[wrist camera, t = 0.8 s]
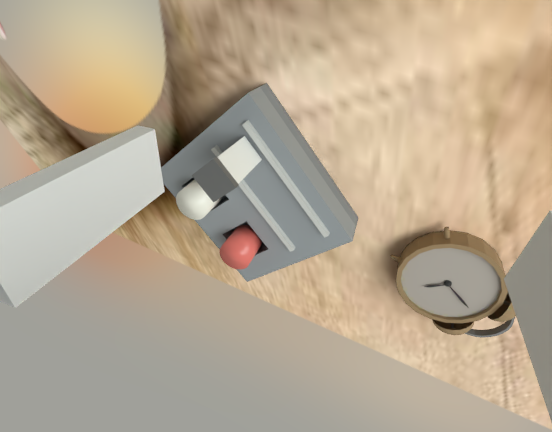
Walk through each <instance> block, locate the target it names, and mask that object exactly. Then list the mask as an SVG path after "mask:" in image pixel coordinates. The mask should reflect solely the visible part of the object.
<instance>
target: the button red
mask: <svg viewBox="0 0 552 432" xmlns="http://www.w3.org/2000/svg"><path fill="white" fill-rule="evenodd" d="M261 245H262V240H261V239H260V238H259V236H258V235H257V234H256V233H255V231H254V230H253V229H252V228H251V226H249V225H240V226H238V227H237V228H236V229H235V230H234V231H233V232H232V234H231V235H230V236H229V237H228V239H227V240H226V241H225V243H224V244H223V245H222V246H221V248H220V256H221V258H222V260H223V261H224V262H225V263H226V264H227V265H228V266H230V267H232V268H234V269H245V268H247V267H248V265H249V264H250V262H251V261H252V259H253V258H254V256H255V254H256V253H257V251H258V250H259V248H260V246H261Z"/></svg>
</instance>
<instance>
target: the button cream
mask: <svg viewBox="0 0 552 432" xmlns="http://www.w3.org/2000/svg"><path fill="white" fill-rule="evenodd" d="M221 199H222V197H221V198H220V199H218V200H217V201H215V202H213V201H212V200H211V199H210V198H209V196H208V195H207V194H206V193H205V191H204V190H203V189H202V188H201V187H200V185H199V184H198V183H197V182H196V180H195V179H194V180H193V181H192V182H191V183H189V184H188V185H187V186H186V187H184V188H183V189H182V190H181V191H179V192H178V194H177V196H176V203H177V206H178V208H179V209H180V211H181V212H182V213H183V214H184V215H185V216H187V217H188V218H190V219H194V220H200V219H202V218H204V217H205V216H206V215H207V214H208V213H209V212H210V211H211V210H212V209H213V208H214V207H215V206H216V205H217V204H218V203H219V202H220V200H221Z"/></svg>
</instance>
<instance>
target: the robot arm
mask: <svg viewBox="0 0 552 432" xmlns="http://www.w3.org/2000/svg"><path fill="white" fill-rule="evenodd" d="M163 192H165V191H164V184H163V178H162V172H161V165H160V159H159V153H158V146H157V140H156V133H155V129H152V128H148V127H143V126H136V127H133V128H131V129H129V130H127V131H125V132H123V133H120V134H118V135H116V136H114V137H112V138H110V139H107V140H105V141H103V142H101V143H99V144H97V145H94V146H92V147H90V148H88V149H86V150H84V151H81V152H79V153H77V154H75V155H73V156H71V157H68V158H66V159H64V160H62V161H60V162H58V163H55V164H53V165H51V166H49V167H47V168H45V169H42V170H40V171H38V172H36V173H34V174H32V175H30V176H27V177H25V178H23V179H21V180H19V181H16V182H14V183H12V184H10V185H8V186H6V187H4V188H1V189H0V302H2V303H5V304H7V305H10V306H12V307H15V308H16V307H17V306H18V305H19V304H21V303H22V302H24V301H25V300H26V299H27V298H28V297H30V296H31V295H33V294H34V293H35V292H36V291H38V290H39V289H40V288H41V287H42V286H44V285H45V284H47V283H48V282H49V281H50V280H52V279H53V278H54V277H56V276H57V275H58V274H59V273H61V272H62V271H63V270H64V269H66V268H67V267H68V266H70V265H71V264H72V263H74V262H75V261H76V260H77V259H79V258H80V257H81V256H82V255H84V254H85V253H86V252H88V251H89V250H90V249H91V248H93V247H94V246H95V245H97V244H98V243H99V242H100V241H101V240H103V239H104V238H105V237H107V236H108V235H109V234H111V233H112V232H113V231H115V230H116V229H117V228H118V227H120V226H121V225H122V224H124V223H125V222H126V221H127V220H129V219H130V218H131V217H133V216H134V215H135V214H136V213H138V212H139V211H140V210H141V209H143V208H144V207H145V206H147V205H148V204H149V203H150V202H152V201H153V200H154V199H156V198H157V197H158V196H159V195H161V194H162V193H163ZM504 281H505V284H506V287H507V290H508V293H509V296H510V299H511V302H512V305H513V308H514V311H515V314H516V317H517V320H518V323H519V326H520V329H521V332H522V335H523V338H524V341H525V344H526V347H527V350H528V353H529V356H530V359H531V362H532V365H533V368H534V371H535V374H536V377H537V380H538V383H539V386H540V389H541V391H542V394H543V397H544V400H545V403H546V406H547V409H548V412H549V415H550V418H551V421H552V211H549V213H548V214H547V216H546V217H545V218H544V220H543V221H542V223H541V224H540V226H539V227H538V229H537V230H536V232H535V233H534V235H533V236H532V238H531V239H530V241H529V242H528V244H527V245H526V247H525V248H524V250H523V251H522V253H521V254H520V256H519V257H518V259H517V260H516V262H515V263H514V264H513V266H512V267H511V269H510V270H509V272H508V273H507V275H506V276H505V278H504Z"/></svg>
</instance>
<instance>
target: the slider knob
mask: <svg viewBox="0 0 552 432" xmlns="http://www.w3.org/2000/svg"><path fill="white" fill-rule="evenodd" d="M261 160H262V159H261V158H260V156H259V155H258V153H257V152H256V151H255V149H254V148H253V147H252V145H251V144H250V143H249V141H248V140H247V139H246V137H245V136H244V137H243V138H241V139H240V140H239V141H237V142H236V143H235V144H233V145H232V146H231V147H229V148H228V149H227V150H225V151H224V152H223V153H222V154H220V155H219V156H218V157H217V156H216V157H215V158H213V159H212V160H211V161H209V162H208V163H207V164H206V165H204V166H203V167H202V168H200V169H199V170H198V171H196V172H195V173H194V174H192V177H193V178H194V179H195V180H196V182H197V183H198V184H199V185H200V187H201V188H202V189H203V190H204V191H205V193H206V194H207V195H208V196H209V198H210V199H211V200H212V201H213V202H215V201H217V200H218V199H220V198H221V197H223V196H224V195H226V194H228V193H229V192H231V191H232V190H234V189H235V188H237V187H238V186H239V183H240V182H241V181H242V180H243V179H244V178H245V177H246V176H247V175H248V173H249V172H250V171H251V170H252V169H253V168H254V167H255V166H256V165H257V164H258V163H259V162H260V161H261Z"/></svg>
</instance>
